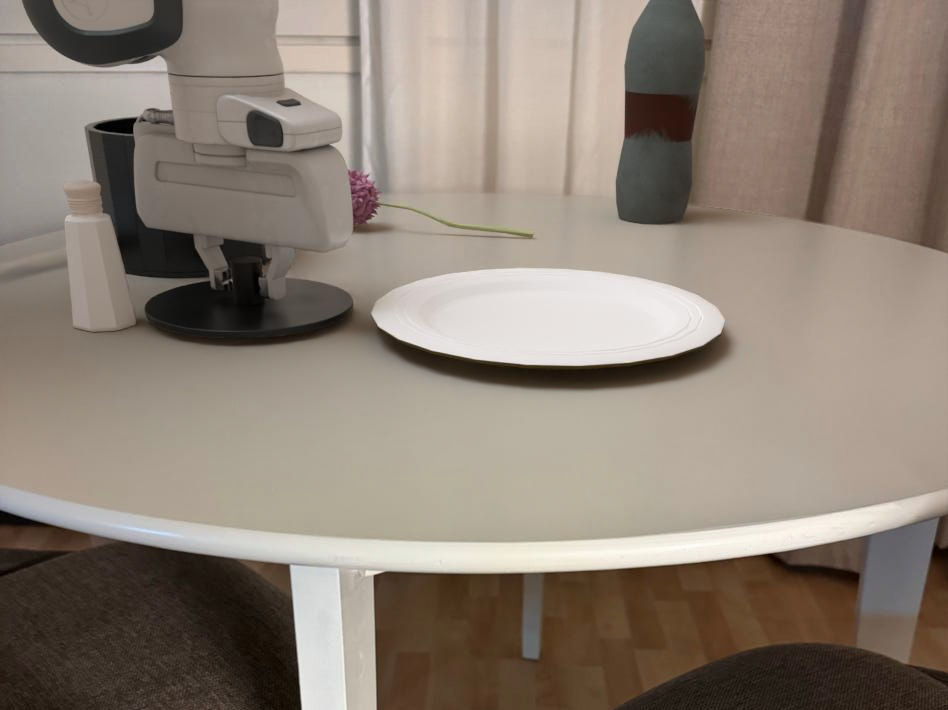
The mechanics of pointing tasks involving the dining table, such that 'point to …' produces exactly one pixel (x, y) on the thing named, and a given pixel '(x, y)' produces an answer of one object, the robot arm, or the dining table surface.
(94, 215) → the salt shaker
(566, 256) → the dining table surface
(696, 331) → the plate
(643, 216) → the bottle
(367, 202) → the artificial flower
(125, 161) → the trash can
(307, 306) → the bin lid
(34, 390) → the dining table surface
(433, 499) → the dining table surface
